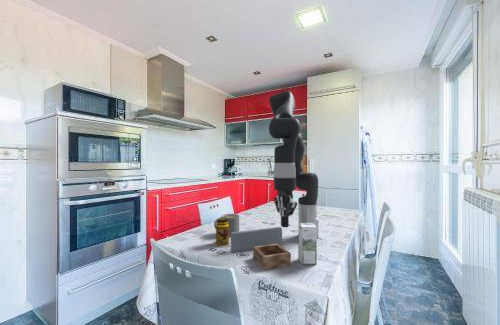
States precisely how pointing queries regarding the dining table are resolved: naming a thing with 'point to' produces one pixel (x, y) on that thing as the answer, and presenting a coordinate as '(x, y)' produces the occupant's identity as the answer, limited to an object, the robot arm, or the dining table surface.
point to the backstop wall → (255, 238)
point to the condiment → (222, 233)
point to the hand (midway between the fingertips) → (284, 226)
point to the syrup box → (307, 243)
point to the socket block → (271, 256)
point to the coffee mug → (231, 222)
